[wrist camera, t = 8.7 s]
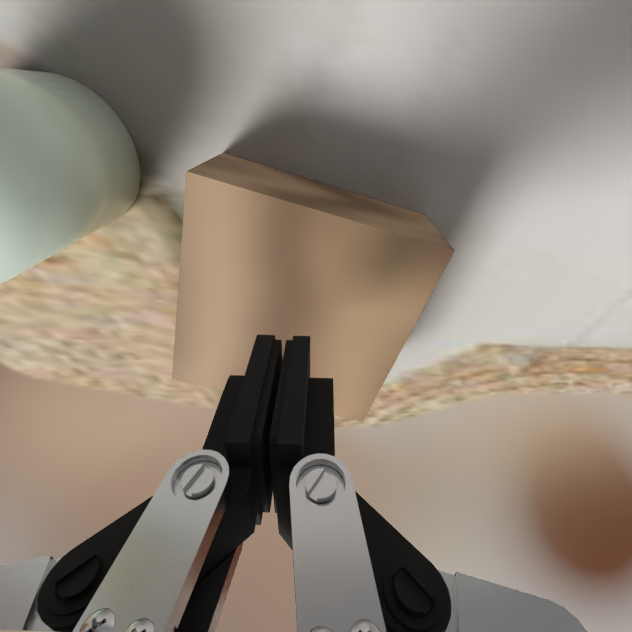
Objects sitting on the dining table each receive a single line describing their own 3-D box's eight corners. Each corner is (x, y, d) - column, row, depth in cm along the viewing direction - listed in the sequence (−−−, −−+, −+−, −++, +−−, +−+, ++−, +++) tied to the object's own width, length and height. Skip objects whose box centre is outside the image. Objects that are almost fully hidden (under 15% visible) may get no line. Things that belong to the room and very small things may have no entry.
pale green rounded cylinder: (117, 72, 14) (-36, 53, 8) (154, 225, 18) (66, 289, 12) (-34, 70, 14) (-291, 50, 8) (33, 222, 18) (-116, 283, 12)
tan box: (423, 212, 17) (454, 250, 13) (356, 360, 22) (362, 421, 18) (224, 151, 16) (186, 171, 12) (203, 322, 21) (172, 379, 17)
